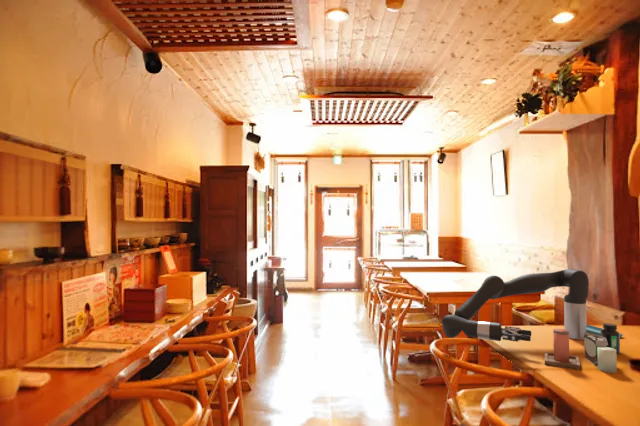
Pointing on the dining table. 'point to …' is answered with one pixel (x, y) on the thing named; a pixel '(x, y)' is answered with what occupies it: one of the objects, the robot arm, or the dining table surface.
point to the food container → (593, 346)
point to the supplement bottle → (611, 336)
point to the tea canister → (561, 345)
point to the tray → (572, 362)
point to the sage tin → (607, 359)
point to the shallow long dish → (595, 330)
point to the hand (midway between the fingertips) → (530, 335)
